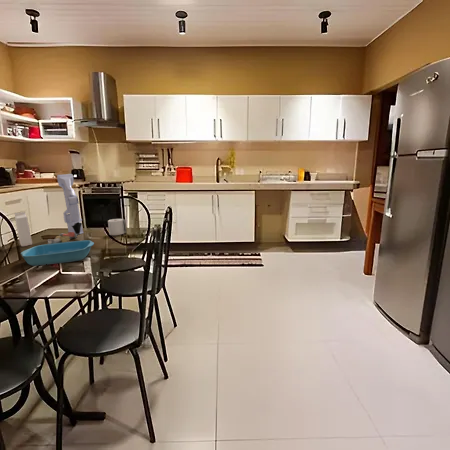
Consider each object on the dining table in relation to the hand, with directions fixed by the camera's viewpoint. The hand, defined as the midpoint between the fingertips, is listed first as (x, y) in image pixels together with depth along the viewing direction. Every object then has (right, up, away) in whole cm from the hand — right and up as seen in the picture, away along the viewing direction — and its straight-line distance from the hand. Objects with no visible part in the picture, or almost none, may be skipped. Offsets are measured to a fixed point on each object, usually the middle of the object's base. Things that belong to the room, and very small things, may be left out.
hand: (77, 233), depth 213 cm
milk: (-33, -7, -4) cm, 34 cm away
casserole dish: (+8, -13, -38) cm, 41 cm away
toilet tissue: (+23, 0, +14) cm, 27 cm away
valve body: (-10, -5, 0) cm, 11 cm away
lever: (-6, -1, -3) cm, 7 cm away
